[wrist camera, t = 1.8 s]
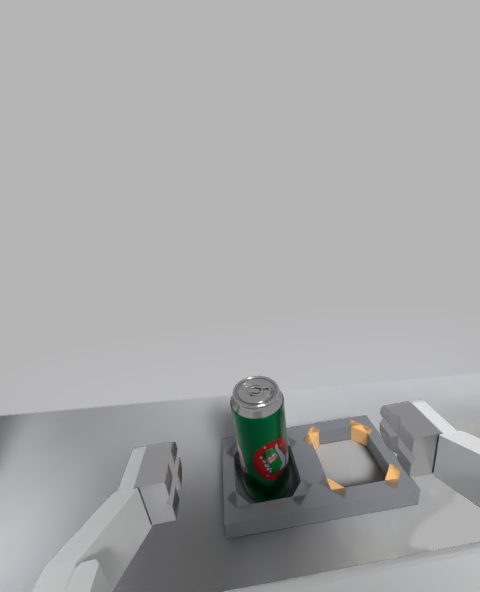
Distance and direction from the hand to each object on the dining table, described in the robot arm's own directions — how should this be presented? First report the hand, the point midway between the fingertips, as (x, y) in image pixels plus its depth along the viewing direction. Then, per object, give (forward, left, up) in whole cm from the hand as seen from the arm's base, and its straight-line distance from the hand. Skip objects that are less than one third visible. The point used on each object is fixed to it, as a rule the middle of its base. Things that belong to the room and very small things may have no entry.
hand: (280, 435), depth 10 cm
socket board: (+4, +12, -19) cm, 23 cm away
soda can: (0, +12, -20) cm, 23 cm away
